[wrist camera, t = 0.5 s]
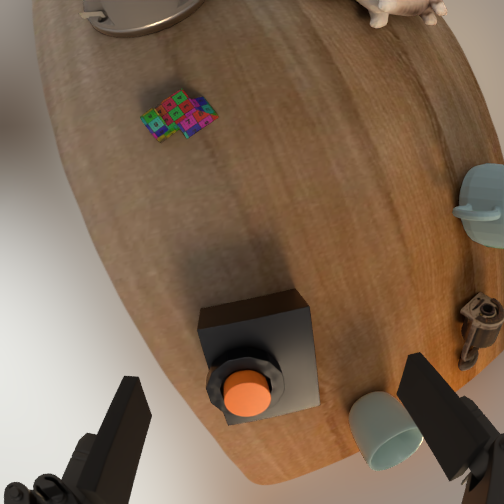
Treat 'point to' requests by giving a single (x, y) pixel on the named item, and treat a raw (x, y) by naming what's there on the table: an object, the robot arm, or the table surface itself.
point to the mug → (483, 205)
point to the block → (178, 116)
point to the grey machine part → (479, 327)
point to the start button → (246, 393)
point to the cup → (383, 430)
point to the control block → (262, 351)
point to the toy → (403, 10)
